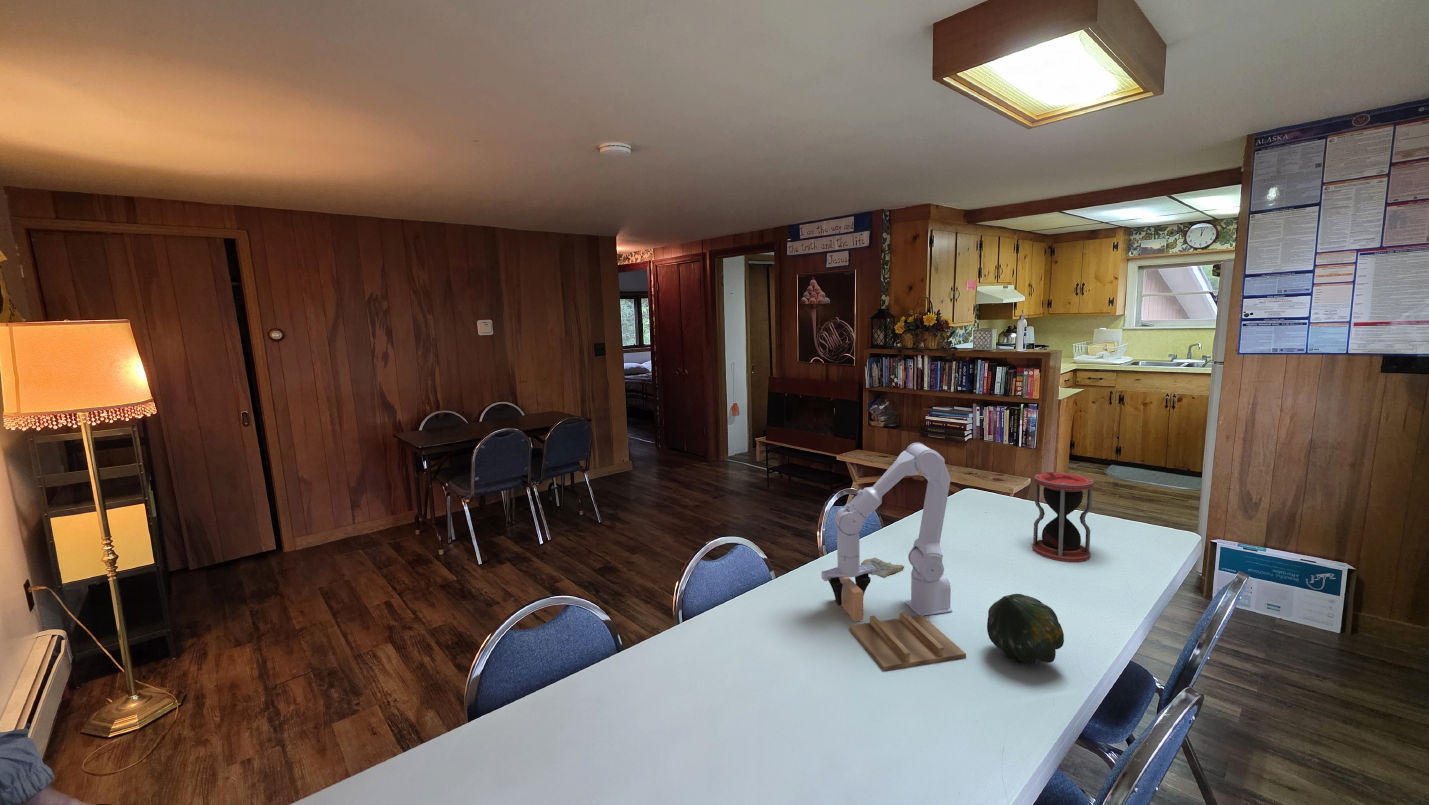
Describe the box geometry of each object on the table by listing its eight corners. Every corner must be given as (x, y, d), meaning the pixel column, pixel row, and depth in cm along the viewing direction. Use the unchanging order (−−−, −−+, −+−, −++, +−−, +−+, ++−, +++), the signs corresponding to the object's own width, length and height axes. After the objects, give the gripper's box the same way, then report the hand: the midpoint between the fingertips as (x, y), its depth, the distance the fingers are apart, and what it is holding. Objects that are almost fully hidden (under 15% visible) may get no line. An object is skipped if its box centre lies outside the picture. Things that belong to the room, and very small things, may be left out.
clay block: (844, 599, 156) (843, 572, 155) (863, 621, 144) (863, 591, 143) (835, 601, 156) (835, 573, 155) (854, 622, 144) (854, 592, 143)
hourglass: (1089, 549, 184) (1093, 474, 181) (1091, 567, 170) (1094, 487, 167) (1033, 540, 193) (1035, 469, 190) (1030, 557, 179) (1032, 481, 176)
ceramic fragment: (908, 567, 171) (882, 570, 167) (907, 577, 171) (881, 580, 167) (884, 554, 181) (859, 556, 177) (883, 564, 181) (858, 566, 177)
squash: (1034, 685, 116) (1036, 617, 114) (972, 650, 129) (973, 588, 127) (1075, 664, 123) (1078, 599, 121) (1011, 633, 136) (1013, 574, 134)
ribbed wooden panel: (922, 618, 144) (922, 607, 144) (966, 657, 127) (966, 645, 126) (849, 629, 140) (849, 618, 140) (884, 670, 123) (884, 658, 123)
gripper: (867, 545, 153) (867, 592, 155) (816, 551, 151) (817, 599, 152) (879, 555, 146) (879, 604, 148) (827, 561, 144) (827, 611, 145)
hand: (848, 602), depth 150 cm, fingers open, 5 cm apart
